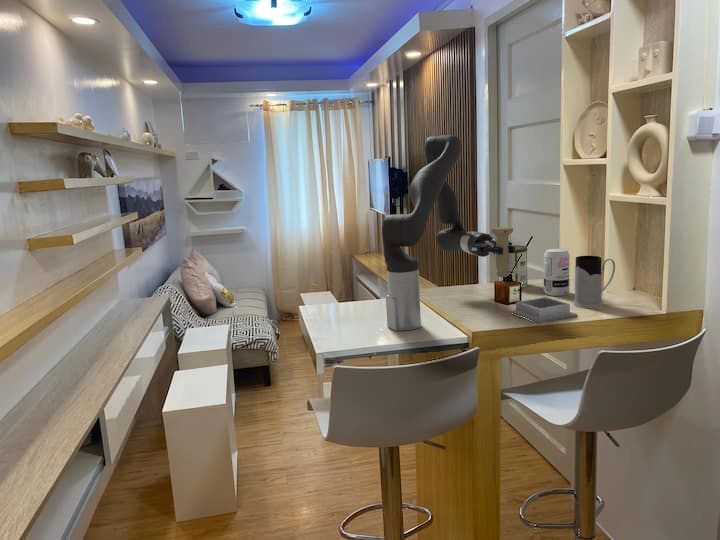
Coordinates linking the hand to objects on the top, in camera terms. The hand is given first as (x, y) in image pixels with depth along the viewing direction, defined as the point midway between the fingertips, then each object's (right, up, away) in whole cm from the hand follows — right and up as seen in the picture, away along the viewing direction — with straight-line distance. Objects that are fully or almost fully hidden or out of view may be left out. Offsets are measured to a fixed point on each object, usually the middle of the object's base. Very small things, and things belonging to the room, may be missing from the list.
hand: (508, 250), depth 180 cm
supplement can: (+22, -14, +24) cm, 36 cm away
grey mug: (+30, -17, +9) cm, 35 cm away
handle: (-1, -8, +4) cm, 9 cm away
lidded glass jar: (+12, -12, +40) cm, 43 cm away
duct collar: (+10, -19, 0) cm, 22 cm away
